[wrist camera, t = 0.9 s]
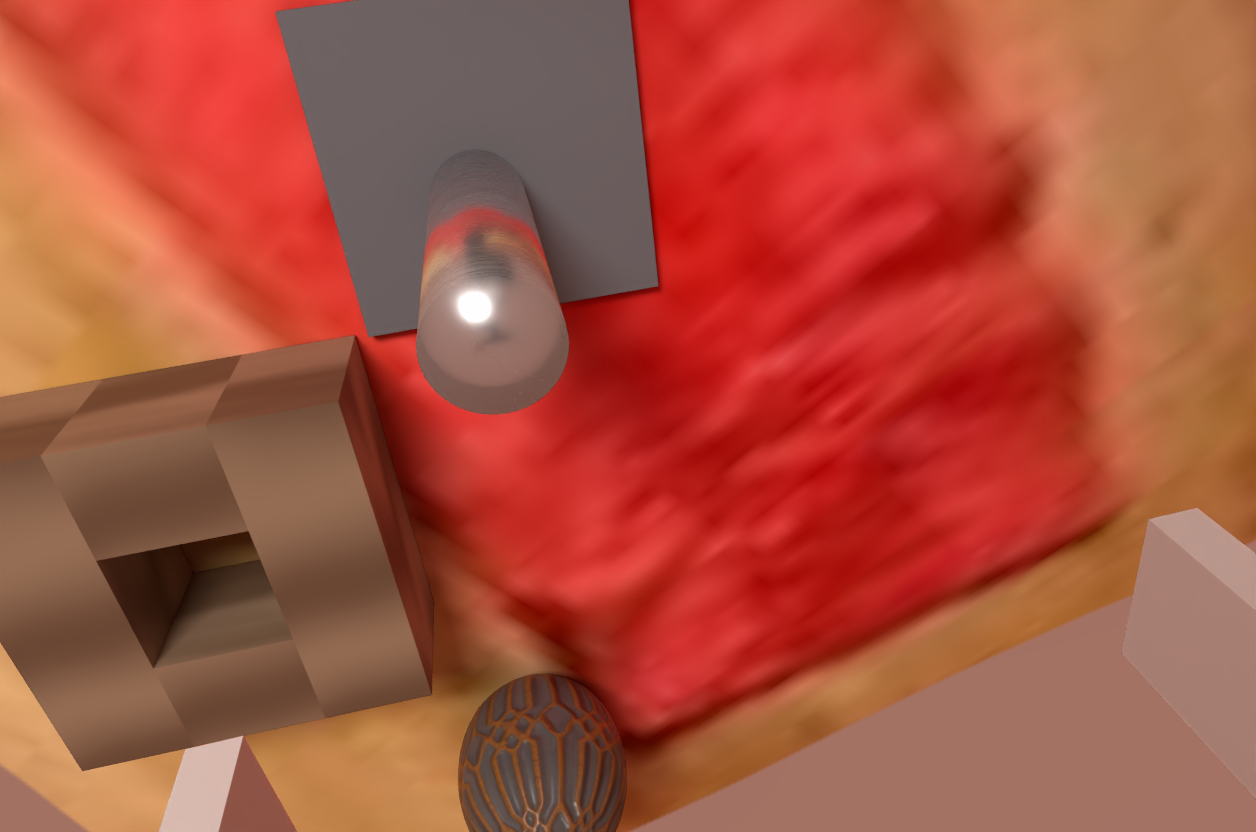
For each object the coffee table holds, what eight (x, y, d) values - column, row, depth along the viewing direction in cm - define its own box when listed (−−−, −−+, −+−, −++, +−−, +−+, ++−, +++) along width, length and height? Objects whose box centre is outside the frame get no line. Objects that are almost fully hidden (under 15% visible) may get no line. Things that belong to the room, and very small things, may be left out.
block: (-17, 400, 28) (-102, 482, 24) (355, 335, 29) (337, 401, 25) (129, 666, 34) (82, 771, 30) (434, 603, 35) (431, 694, 31)
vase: (516, 625, 37) (533, 803, 29) (641, 683, 39) (686, 858, 32) (427, 730, 39) (421, 922, 31) (552, 778, 41) (575, 964, 34)
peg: (419, 157, 27) (399, 289, 16) (516, 142, 27) (557, 263, 17) (441, 250, 28) (435, 426, 18) (532, 235, 28) (579, 399, 18)
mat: (277, 11, 25) (275, 12, 24) (622, -37, 26) (624, -37, 25) (369, 332, 29) (368, 337, 29) (656, 282, 30) (658, 285, 30)
